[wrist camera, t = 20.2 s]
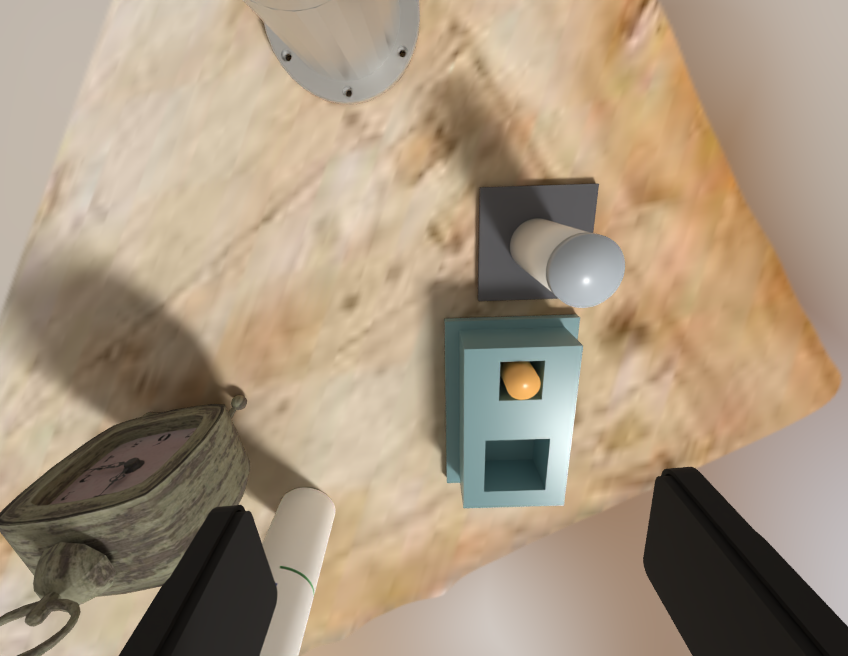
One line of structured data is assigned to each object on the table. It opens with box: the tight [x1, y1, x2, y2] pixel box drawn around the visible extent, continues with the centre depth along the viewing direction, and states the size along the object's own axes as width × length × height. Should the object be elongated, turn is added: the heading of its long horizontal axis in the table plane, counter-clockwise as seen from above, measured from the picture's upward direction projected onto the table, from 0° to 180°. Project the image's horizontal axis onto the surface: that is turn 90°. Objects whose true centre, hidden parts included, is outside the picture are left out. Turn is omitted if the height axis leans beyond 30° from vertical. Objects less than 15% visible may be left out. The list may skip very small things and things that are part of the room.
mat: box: [478, 184, 599, 301], centre depth 39 cm, size 11×11×1 cm
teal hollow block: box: [444, 314, 583, 508], centre depth 42 cm, size 21×14×6 cm, turn 2°
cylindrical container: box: [260, 487, 335, 656], centre depth 39 cm, size 7×7×25 cm
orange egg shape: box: [500, 361, 541, 400], centre depth 39 cm, size 3×3×4 cm
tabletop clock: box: [0, 395, 250, 656], centre depth 34 cm, size 14×9×25 cm, turn 102°
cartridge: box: [510, 218, 625, 308], centre depth 33 cm, size 5×5×12 cm
